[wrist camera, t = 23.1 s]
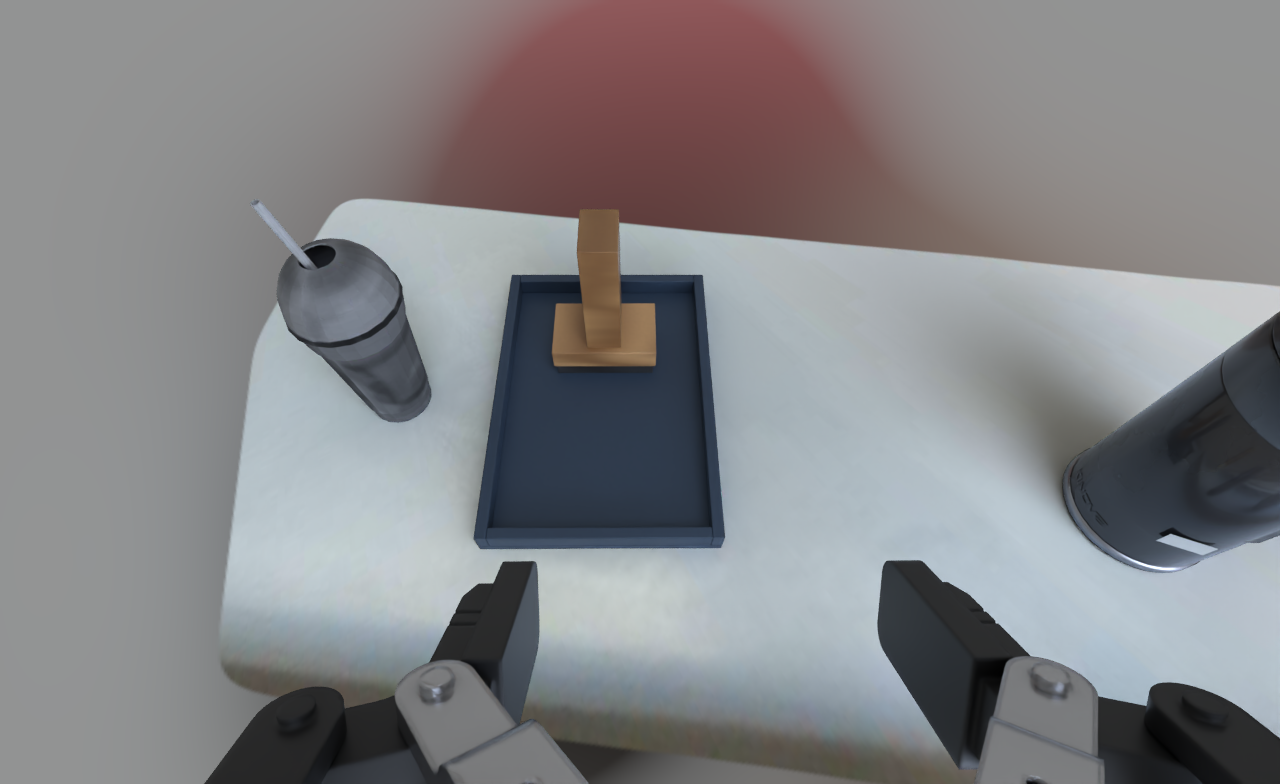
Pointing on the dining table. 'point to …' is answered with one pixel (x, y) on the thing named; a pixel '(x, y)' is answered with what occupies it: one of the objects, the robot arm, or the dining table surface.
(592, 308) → the wooden post on base
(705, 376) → the tray
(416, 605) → the dining table surface
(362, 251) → the beverage cup
